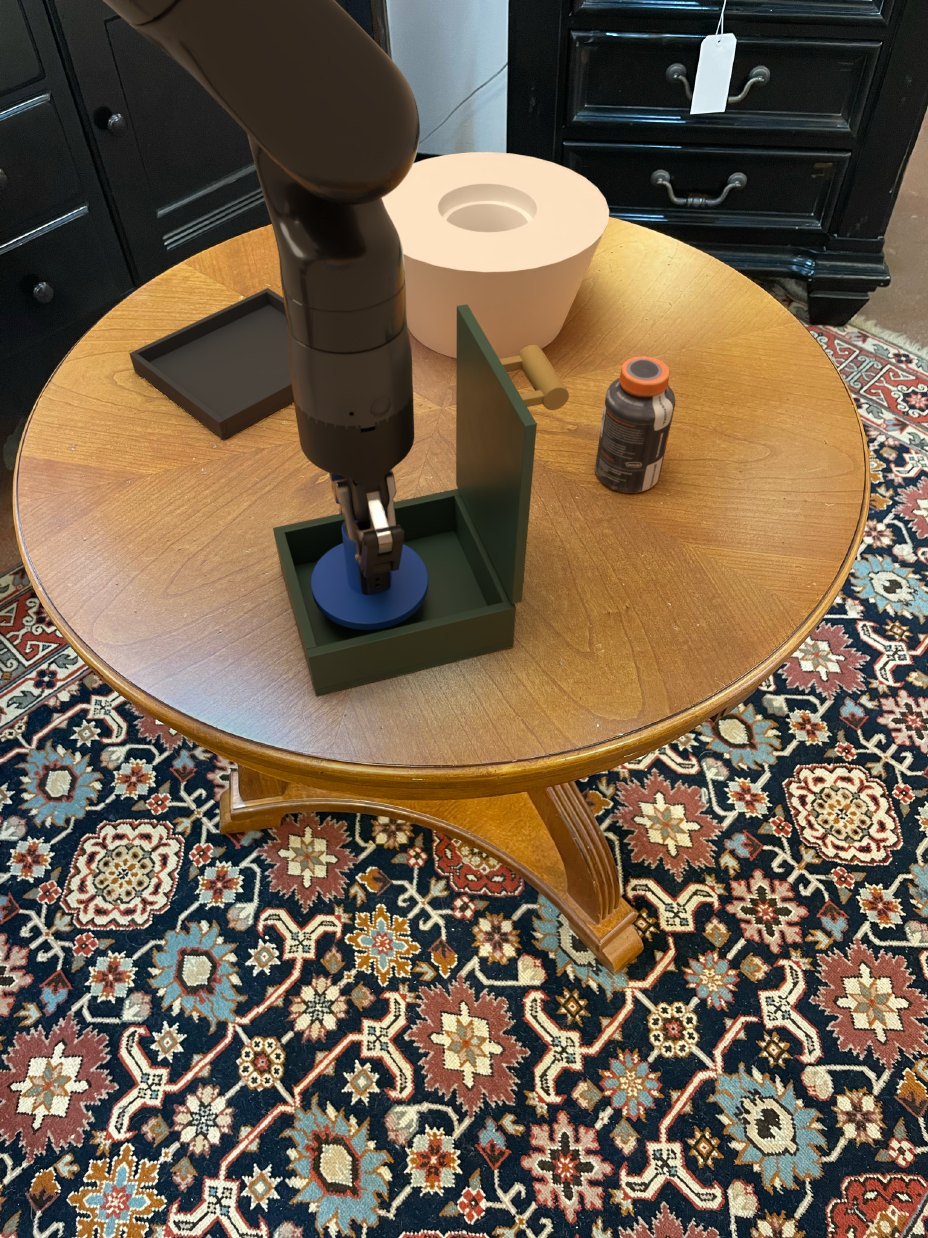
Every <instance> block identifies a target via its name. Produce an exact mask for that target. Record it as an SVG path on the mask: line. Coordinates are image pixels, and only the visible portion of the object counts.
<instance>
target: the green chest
mask: <svg viewBox="0 0 928 1238" xmlns="http://www.w3.org/2000/svg"><path fill="white" fill-rule="evenodd" d="M394 510H395V519H396V525H400V526H401V529H403V531H404V543H403V544H404V545H406V546H408V547H409V548H411V549H412V550H413V551H415V552H416V553H417V554H418V555H419V556H420V558H421V559H422V561H423V562H424V564H425V566H426V568H427V572H428V592H427V595H426V598H425V600H424V602H423V603H422V605H421V606H420V608H419V609H418V610H417V611H416V612H415V613H414V614H413V615H411V616H410V617H409V618H407V619H406V620H404V621H402V622H400V623H398V624H396V625H393V626H390V627H386V628H382V629H376V630H359V629H353V628H348V627H345V626H342V625H340V624H337V623H335V622H333V621H332V620H330V619H329V618H327V617H326V616H325V615H324V614H323V613H322V612H321V611H320V610H319V608H318V607H317V606H316V604H315V602H314V599H313V596H312V589H311V577H312V573H313V570H314V568H315V566H316V564H317V563H318V561H319V560H320V559H321V558H322V557H323V556H324V555H325V554H326V553H327V552H328V551H330V550H331V549H332V548H334V547H336V546H338V545H340V544H342V543H343V537H342V525H343V523H344V519H343V518H342V515H340V513H336V514H332V515H326V516H321V517H316V518H313V519H308V520H303V521H299V522H298V521H297V522H293V523H289V524H285V525H280V526H274V527H272V530H273V536H274V542H275V546H276V550H277V555H278V560H279V566H280V570H281V573H282V577H283V581H284V584H285V588H286V592H287V596H288V600H289V603H290V607H291V610H292V614H293V618H294V621H295V625H296V629H297V633H298V636H299V641H300V644H301V648H302V651H303V655H304V659H305V662H306V666H307V669H308V673H309V677H310V680H311V684H312V688H313V692H314V695H315V697H319V696H323V695H328V694H331V693H336V692H340V691H343V690H348V689H352V688H355V687H359V686H363V685H367V684H371V683H374V682H379V681H383V680H388V679H391V678H394V677H395V678H396V677H399V676H403V675H407V674H410V673H411V674H412V673H415V672H419V671H422V670H427V669H431V668H436V667H439V666H443V665H446V664H451V663H454V662H460V661H463V660H467V659H471V658H474V657H479V656H483V655H486V654H491V653H495V652H499V651H502V650H507V649H510V648H513V647H514V640H515V627H516V613H517V606H516V603H514V604H512V603H511V601H510V599H509V597H508V594H507V592H506V590H505V588H504V586H503V584H502V582H501V579H500V577H499V575H498V573H497V571H496V569H495V567H494V564H493V562H492V560H491V558H490V556H489V554H488V552H487V549H486V547H485V545H484V543H483V541H482V539H481V537H480V534H479V532H478V530H477V528H476V526H475V524H474V522H473V519H472V517H471V515H470V513H469V511H468V509H467V507H466V504H465V502H464V500H463V498H462V496H461V494H460V492H459V489H458V488H455V489H449V490H444V491H440V492H436V493H435V492H434V493H431V494H425V495H421V496H417V497H416V496H415V497H412V498H407V499H402V500H397V501H394Z"/></svg>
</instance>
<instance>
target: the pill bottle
mask: <svg viewBox="0 0 928 1238" xmlns="http://www.w3.org/2000/svg"><path fill="white" fill-rule="evenodd" d="M670 374H671V372H670V368H669V366H668V365H667V364H666V362H665V363H664V361H662V360H660V359H658V358H656V357H652V356H648V355H647V356H646V355H645V356H644V355H641V356H634V357H631V358H628V359H626V360H625V362H623V363H622V366H621V369H620V374H619V378H617V379H615V380H614V381H613V382H611V383H610V385H609V386H608V387H607V390H606V393H605V397H604V404H603V410H602V415H601V422H600V430H599V437H598V445H597V452H596V458H595V464H594V465H595V466H594V468H595V469H594V470H595V474H596V476H597V478H598V480H599V481H600V482H601V483H602V484H603V485H605V486H606V487H608V488H610V489H611V490H614V491H617V492H621V493H628V494H634V493H641V492H644V491H647V490H649V489H651V488H653V486H655V485H656V484H657V482H659V480H660V477H661V473H662V469H663V463H664V458H665V454H666V450H667V445H668V440H669V436H670V431H671V425H672V422H673V417H674V413H675V407H676V395H675V393H674V391H673V389H672V388H671V386H670V385H669V381H670V376H671V375H670Z"/></svg>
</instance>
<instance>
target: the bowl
mask: <svg viewBox="0 0 928 1238" xmlns="http://www.w3.org/2000/svg"><path fill="white" fill-rule="evenodd" d="M606 199H607V198H606V197H605V196H604V194H603V193H602V192H601V191H600V189H599V188H598V186H596V185H595V184H594V183H592V182H591V181H590V180H588V179H587V177H585V176H583V175H581V174H579V173H578V172H576V171H575V170H572V169H571V168H568V167H565V166H563V165H560V164H558V163H555V162H552V161H548V160H545V159H541V158H537V157H535V156H528V155H522V154H516V153H510V152H509V153H507V152H495V151H494V152H493V151H480V152H479V151H478V152H475V151H473V152H459V153H452V154H450V153H449V154H445V155H444V154H443V155H438V156H434V157H430V158H426V159H422V160H420V161H416V162H414V163H413V165H412V167H411V169H410V171H409V173H408V174H407V176H406V177H405V179H404V180H403V181H402V183H401V184H400V185H399V186H398V187H397V188H396V189H394V190H393V191H392V192H391V193H389V194H388V195H386V196H385V197H383V198H382V200H383V203H384V206H385V208H386V210H387V212H388V214H389V216H390V218H391V220H392V222H393V224H394V225H395V227H396V230H397V232H398V235H399V237H400V240H401V244H402V248H403V255H404V263H405V285H406V314H407V326H408V332H410V334H412V336H413V337H414V338H415V340H417V341H418V342H419V343H421V344H422V345H423V346H424V347H426V348H427V349H430V350H431V351H433V352H435V353H438V354H441V355H443V356H446V357H449V358H453V359H457V306H460V305H466V304H467V305H468V306H469V308H470V310H471V311H472V313H473V315H474V317H475V318H476V320H477V322H478V323H479V325H480V327H481V329H482V330H483V332H484V334H485V335H486V337H487V339H488V341H489V342H490V344H491V346H492V348H493V349H494V351H495V353H496V354H497V356H498V358H499V359H502V358H508V357H513V356H518V355H519V353H520V351H521V350H522V349H523V348H524V347H526V346H529V345H537V346H539V347H540V348H541V350H542V349H544V348H545V347H546V346H548V345H549V344H552V342H553V341H554V340H555V339H556V338H557V337H558V335H559V334H560V332H561V331H562V328H563V326H564V324H565V322H566V319H567V316H568V315H569V312H570V310H571V308H572V305H573V304H574V301H575V299H576V296H577V294H578V292H579V290H580V287H581V285H582V283H583V280H584V279H585V276H586V274H587V271H588V269H589V267H590V265H591V263H592V260H593V258H594V256H595V253H596V252H597V249H598V246H599V244H600V242H601V239H602V237H603V235H604V233H605V232H606V228H607V226H608V224H609V221H610V220H609V219H610V209H609V205H608V203H607V200H606Z"/></svg>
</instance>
